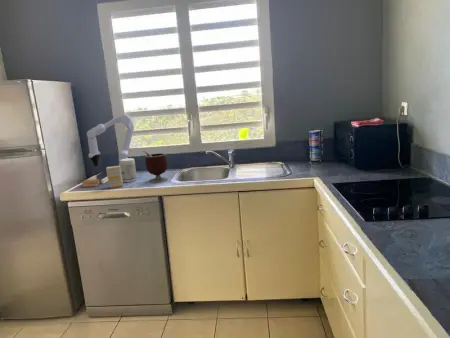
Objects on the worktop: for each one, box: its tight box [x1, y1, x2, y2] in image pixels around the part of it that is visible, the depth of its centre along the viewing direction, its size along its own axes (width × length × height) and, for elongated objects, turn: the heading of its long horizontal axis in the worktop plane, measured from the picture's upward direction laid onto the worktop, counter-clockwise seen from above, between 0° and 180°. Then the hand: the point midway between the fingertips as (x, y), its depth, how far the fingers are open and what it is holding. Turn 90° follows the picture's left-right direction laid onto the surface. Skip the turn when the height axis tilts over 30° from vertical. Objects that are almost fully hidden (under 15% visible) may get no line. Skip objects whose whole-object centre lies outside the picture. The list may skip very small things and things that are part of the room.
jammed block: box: [81, 178, 100, 188], centre depth 233 cm, size 5×9×4 cm, turn 87°
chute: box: [86, 175, 108, 185], centre depth 246 cm, size 16×13×2 cm
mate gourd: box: [142, 150, 169, 184], centre depth 233 cm, size 16×14×20 cm
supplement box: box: [105, 165, 124, 189], centre depth 225 cm, size 8×5×13 cm, turn 98°
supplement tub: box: [119, 157, 138, 183], centre depth 239 cm, size 10×10×15 cm
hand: (96, 165), depth 252 cm, fingers closed
